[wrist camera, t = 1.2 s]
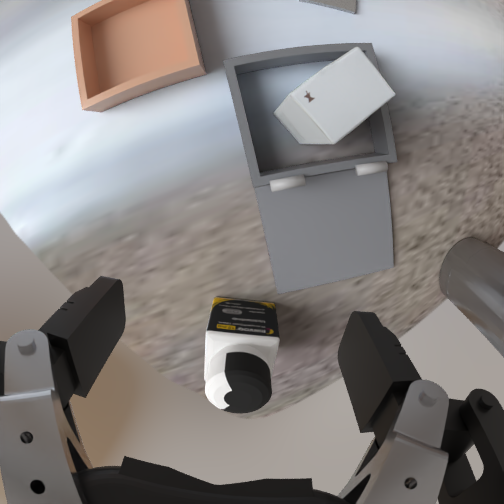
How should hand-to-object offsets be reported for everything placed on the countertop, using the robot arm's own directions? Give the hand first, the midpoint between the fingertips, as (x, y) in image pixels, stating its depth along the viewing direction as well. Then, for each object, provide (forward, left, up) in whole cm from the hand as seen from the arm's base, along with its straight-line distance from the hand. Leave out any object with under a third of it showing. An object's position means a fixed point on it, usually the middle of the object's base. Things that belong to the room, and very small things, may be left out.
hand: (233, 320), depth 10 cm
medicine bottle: (+4, +14, -21) cm, 26 cm away
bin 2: (-8, -1, -21) cm, 23 cm away
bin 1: (+7, -20, -21) cm, 30 cm away
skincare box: (-8, -8, -21) cm, 24 cm away
